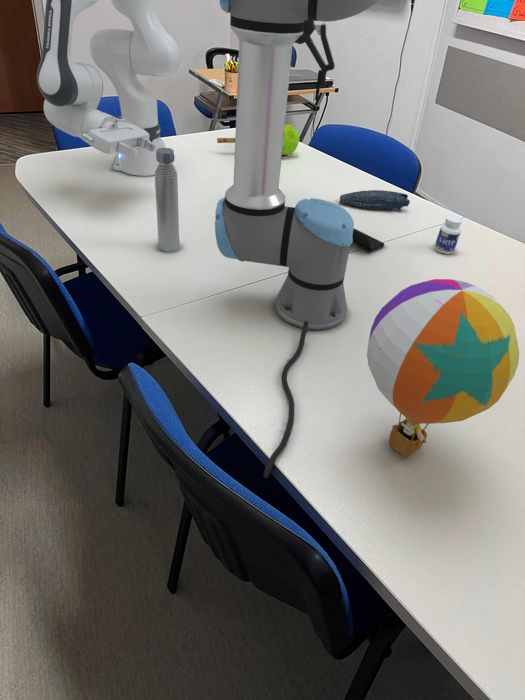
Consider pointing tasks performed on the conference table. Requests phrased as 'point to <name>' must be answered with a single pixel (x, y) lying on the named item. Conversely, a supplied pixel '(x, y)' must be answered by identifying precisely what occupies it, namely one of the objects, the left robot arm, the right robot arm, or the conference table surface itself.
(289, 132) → the decorative tree
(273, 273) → the conference table surface
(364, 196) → the fish model
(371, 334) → the toy
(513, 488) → the conference table surface
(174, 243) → the bottle
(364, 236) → the handheld gaming console
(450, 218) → the pill bottle
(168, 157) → the cap
